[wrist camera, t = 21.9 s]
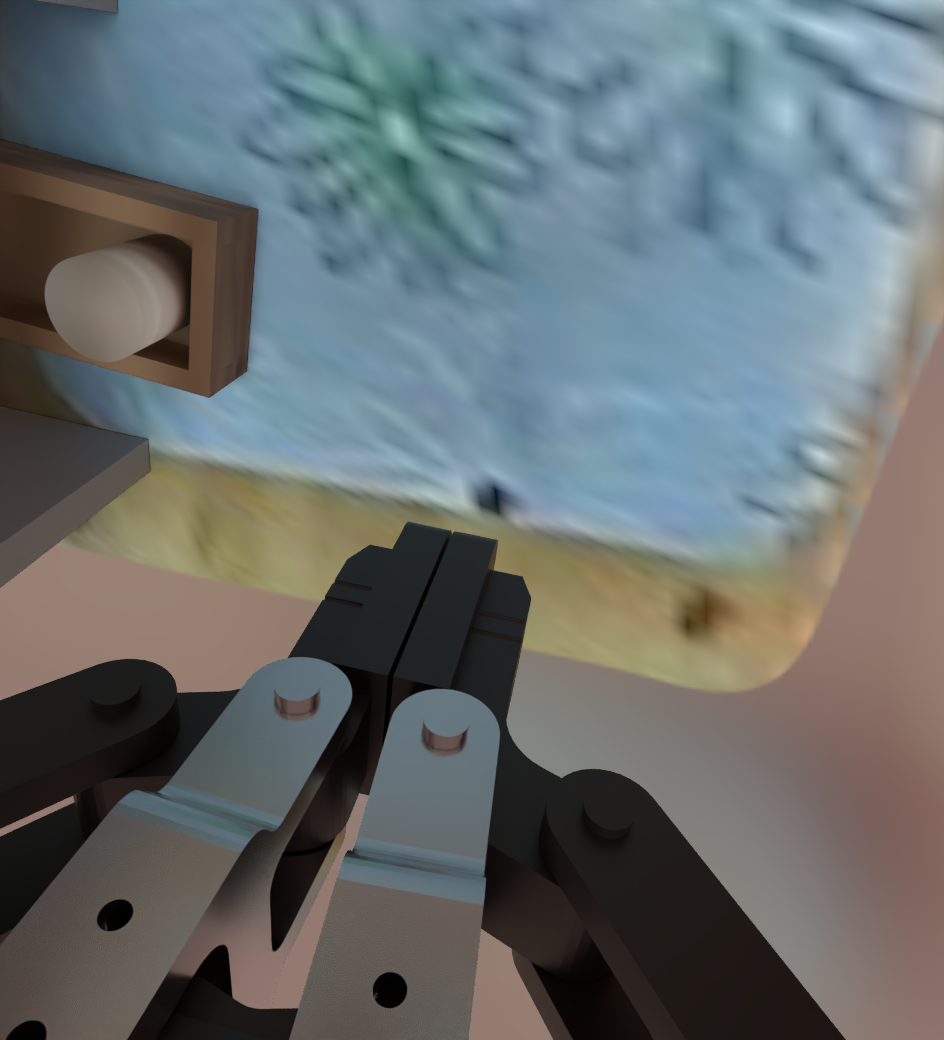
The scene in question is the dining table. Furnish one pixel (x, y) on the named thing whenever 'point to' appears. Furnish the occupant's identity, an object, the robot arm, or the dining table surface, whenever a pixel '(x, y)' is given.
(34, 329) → the tray
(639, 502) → the dining table surface
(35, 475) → the grey hollow frame
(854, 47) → the dining table surface
